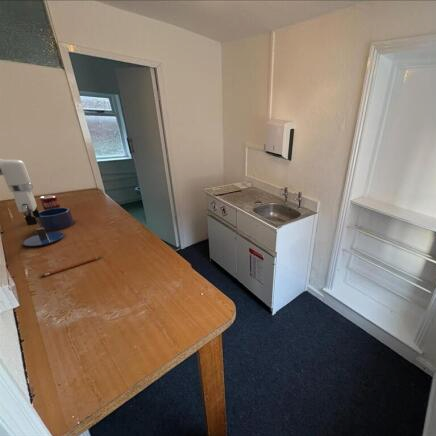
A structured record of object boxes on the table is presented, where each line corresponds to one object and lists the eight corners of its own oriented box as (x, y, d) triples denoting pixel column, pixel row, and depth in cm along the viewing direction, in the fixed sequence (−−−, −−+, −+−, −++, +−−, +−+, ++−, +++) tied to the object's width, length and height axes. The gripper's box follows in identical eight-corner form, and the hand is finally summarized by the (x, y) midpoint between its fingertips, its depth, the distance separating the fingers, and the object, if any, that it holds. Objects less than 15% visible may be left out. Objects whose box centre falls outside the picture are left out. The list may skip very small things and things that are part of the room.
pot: (40, 232, 125) (33, 218, 122) (43, 224, 135) (37, 210, 132) (73, 226, 133) (68, 213, 130) (74, 218, 143) (69, 206, 140)
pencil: (43, 276, 94) (42, 274, 93) (100, 257, 107) (99, 256, 107) (43, 277, 93) (42, 275, 93) (100, 258, 106) (100, 257, 106)
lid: (21, 250, 109) (15, 238, 106) (26, 238, 119) (21, 226, 117) (63, 242, 118) (58, 230, 115) (65, 231, 128) (60, 220, 125)
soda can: (45, 214, 146) (37, 196, 141) (60, 211, 152) (53, 194, 147) (48, 217, 143) (41, 199, 138) (64, 214, 148) (57, 196, 143)
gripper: (13, 183, 111) (26, 216, 118) (4, 193, 99) (19, 229, 105) (35, 182, 115) (47, 213, 122) (29, 191, 103) (42, 225, 110)
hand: (34, 220), depth 114 cm, fingers open, 9 cm apart
